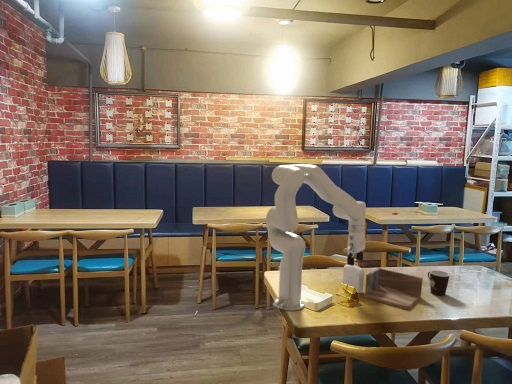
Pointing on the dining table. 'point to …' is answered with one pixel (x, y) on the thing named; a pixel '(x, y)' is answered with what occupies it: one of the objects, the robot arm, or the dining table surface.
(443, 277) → the coffee mug
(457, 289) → the dining table surface
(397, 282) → the shelf
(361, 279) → the white upright block
